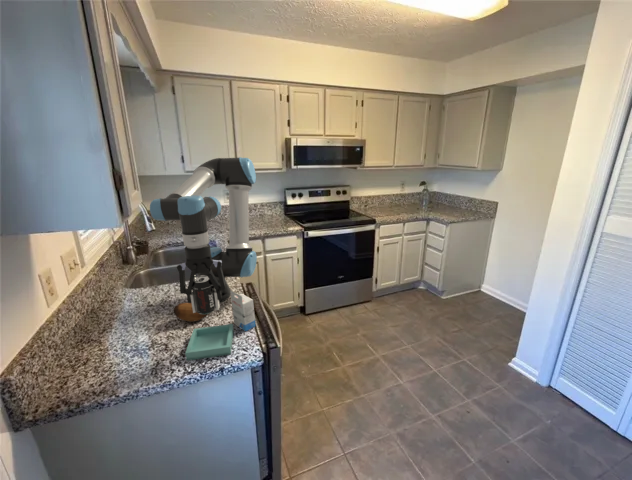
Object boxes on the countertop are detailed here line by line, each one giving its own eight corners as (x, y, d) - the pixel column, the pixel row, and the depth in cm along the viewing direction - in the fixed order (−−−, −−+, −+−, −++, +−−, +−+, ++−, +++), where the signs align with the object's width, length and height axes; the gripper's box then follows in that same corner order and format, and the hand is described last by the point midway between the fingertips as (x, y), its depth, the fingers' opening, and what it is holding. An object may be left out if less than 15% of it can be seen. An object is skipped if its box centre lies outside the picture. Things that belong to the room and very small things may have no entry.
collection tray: (195, 335, 108) (193, 328, 108) (233, 330, 111) (232, 323, 110) (186, 360, 95) (185, 353, 94) (230, 354, 98) (229, 346, 97)
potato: (207, 323, 122) (207, 321, 115) (172, 321, 118) (170, 320, 111) (209, 304, 125) (210, 302, 118) (175, 303, 120) (173, 300, 113)
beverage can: (193, 316, 95) (187, 283, 92) (199, 306, 102) (194, 274, 99) (214, 315, 96) (209, 282, 93) (219, 305, 103) (215, 273, 99)
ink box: (256, 326, 113) (253, 292, 109) (245, 332, 110) (241, 297, 106) (244, 318, 119) (240, 285, 115) (233, 323, 116) (229, 290, 111)
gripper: (160, 251, 87) (172, 318, 94) (228, 246, 91) (235, 311, 97) (167, 244, 94) (178, 307, 101) (230, 239, 98) (237, 300, 104)
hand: (206, 309), depth 99 cm, fingers closed on beverage can, 7 cm apart
